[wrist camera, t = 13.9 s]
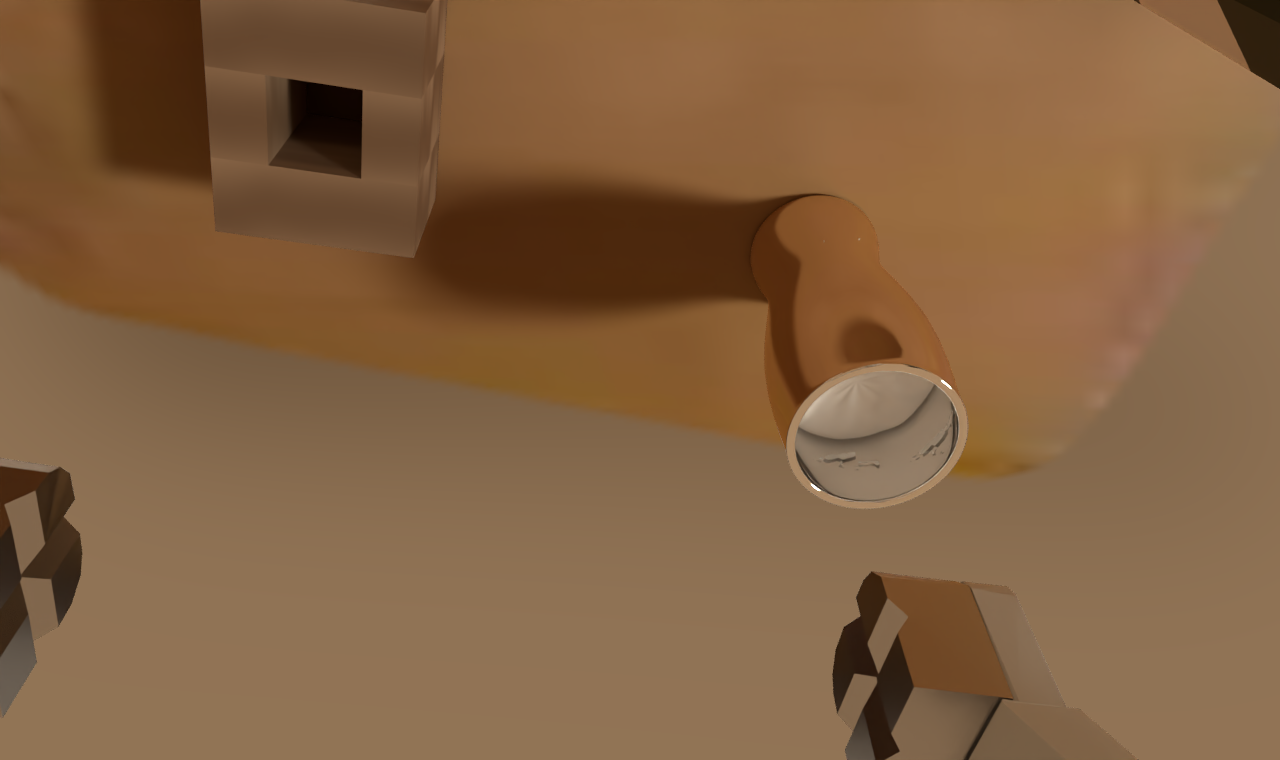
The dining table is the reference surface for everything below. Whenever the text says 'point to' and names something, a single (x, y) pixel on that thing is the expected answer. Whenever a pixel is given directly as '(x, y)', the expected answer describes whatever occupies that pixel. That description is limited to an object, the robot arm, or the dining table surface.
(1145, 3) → the wine bottle
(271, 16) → the block
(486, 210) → the dining table surface
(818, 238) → the beer glass
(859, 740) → the robot arm
